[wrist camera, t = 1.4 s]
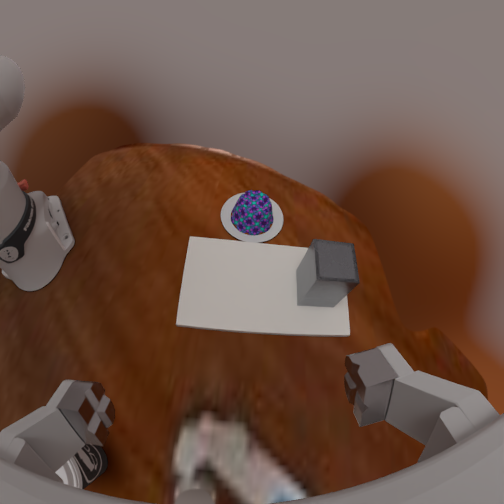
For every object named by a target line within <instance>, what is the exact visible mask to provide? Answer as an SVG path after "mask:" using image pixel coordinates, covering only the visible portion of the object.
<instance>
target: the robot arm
mask: <svg viewBox="0 0 504 504" xmlns="http://www.w3.org/2000/svg"><path fill="white" fill-rule="evenodd" d="M24 89H25V85H24V78H23V74H22V72H21V70H20V68H19V66H18V65H17V64H16V63H15V62H14V61H13V60H12V59H10V58H9V57H6V56H3V55H0V131H1V130H2V129H3V128H5V127H6V126H7V125H8V124H9V123H10V122H11V121H12V120H13V119H15V118H16V117H17V115H18V113H19V111H20V108H21V106H22V102H23V98H24ZM27 189H28V182H27V181H26V179H24V180H22V181H21V182H18V183H17V182H16V180H15V179H14V177H13V175H12V174H11V172H10V170H9V168H8V167H7V165H6V164H4V163H3V162H2V161H0V267H1V269H2V274H3V275H4V276H5V277H6V278H8V279H11V280H13V282H14V283H15V284H16V285H17V286H18V287H19V288H20V289H22V290H25V291H35V290H38V289H40V288H42V287H44V286H45V285H47V284H48V283H49V282H50V281H51V280H52V279H53V278H54V277H55V275H56V274H57V273H58V271H59V269H60V267H61V265H62V263H63V260H64V258H65V256H66V254H67V253H68V252H69V251H70V250H71V248H72V247H73V246H74V243H75V240H74V237H73V235H72V232H71V230H70V227H69V224H68V221H67V219H66V216H65V213H64V210H63V207H62V204H61V201H60V199H59V197H58V196H48V197H46V195H45V194H44V193H43V192H42V191H34V192H31V193H28V194H27V193H25V192H24V190H27ZM66 238H67V239H66ZM345 367H346V369H347V371H348V372H347V373H346V375H345V376H344V385H345V392H346V395H347V398H348V401H349V403H351V404H353V405H354V414H355V417H356V419H357V421H358V423H359V426H360V427H362V426H365V425H369V424H372V423H376V422H379V421H382V420H385V419H386V420H385V421H387V422H388V423H390V424H391V425H393V426H395V427H396V428H398V429H399V430H401V431H403V432H404V433H406V434H408V435H409V436H411V437H413V438H414V439H416V440H418V441H419V442H421V443H423V444H424V445H426V446H425V448H424V450H423V452H422V454H421V456H420V458H419V460H418V463H417V464H415V465H412V466H410V467H408V468H405V469H403V470H401V471H398V472H395V473H393V474H390V475H388V476H385V477H382V478H379V479H376V480H374V481H371V482H367V483H364V484H361V485H358V486H354V487H351V488H347V489H344V490H340V491H336V492H332V493H328V494H324V495H319V496H314V497H309V498H304V499H298V500H292V501H286V502H279V503H271V504H504V413H503V414H502V415H499V414H498V412H497V411H496V410H495V409H494V408H493V406H492V405H491V404H490V403H489V402H488V401H487V399H486V398H485V397H484V396H483V395H482V394H481V393H480V391H478V390H474V389H471V388H468V387H465V386H462V385H459V384H456V383H453V382H450V381H447V380H444V379H441V378H438V377H435V376H432V375H429V374H427V373H424V372H421V371H416V372H414V371H413V370H412V368H411V367H410V366H409V364H408V363H407V362H406V361H405V359H404V358H403V357H402V356H401V354H400V353H399V352H398V351H397V349H396V348H395V347H394V346H393V344H391V343H388V344H385V345H382V346H379V347H376V348H373V349H369V350H366V351H362V352H358V353H355V354H351V355H347V356H346V358H345ZM104 394H105V389H104V388H103V386H102V385H101V383H98V382H91V381H79V380H76V381H75V380H64V381H63V382H62V383H61V385H60V386H59V387H58V389H57V390H56V392H55V393H54V395H53V396H52V398H51V399H50V401H49V402H48V404H47V405H46V407H45V406H42V407H41V408H39V409H37V410H36V411H34V412H32V413H30V414H29V415H27V416H25V417H24V418H22V419H20V420H19V421H17V422H15V423H14V424H12V425H10V426H8V427H7V428H5V429H3V430H2V431H1V432H0V504H155V503H147V502H140V501H134V500H128V499H122V498H117V497H112V496H107V495H103V494H99V493H95V492H91V491H87V490H83V489H80V488H76V487H73V486H70V485H67V484H64V482H63V480H62V479H61V478H60V477H59V476H58V475H57V474H56V473H55V472H56V471H57V470H58V469H60V468H61V467H62V466H63V465H64V464H65V463H66V462H67V461H68V460H69V459H70V458H71V457H73V456H74V455H75V454H76V453H77V452H78V451H79V450H80V449H81V448H82V447H83V446H84V445H85V444H91V445H99V446H104V444H105V442H106V439H107V437H108V434H109V431H108V427H109V426H111V425H112V424H113V422H114V419H115V409H114V405H113V403H112V402H111V400H110V399H109V398H108V397H106V396H105V395H104Z"/></svg>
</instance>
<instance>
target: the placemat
mask: <svg viewBox="0 0 504 504" xmlns="http://www.w3.org/2000/svg"><path fill="white" fill-rule="evenodd" d="M307 250H308V248H302V247H293V246H283V245H273V244H263V243H253V242H243V241H233V240H223V239H212V238H202V237H191V236H190V239H189V244H188V250H187V256H186V261H185V267H184V273H183V279H182V286H181V292H180V299H179V306H178V313H177V320H176V326H180V327H189V328H198V329H207V330H218V331H229V332H241V333H255V334H272V335H293V336H335V337H348V336H349V335H350V326H349V313H348V302H347V295H346V296H345V297H344V298H343V299H342V300H341V301H340V302H339V303H338V304H337V305H336V306H334V307H315V306H297V278H296V270H297V268H298V266H299V265H300V263H301V261H302V259H303V257H304V256H305V254H306V252H307Z"/></svg>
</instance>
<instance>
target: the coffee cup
mask: <svg viewBox="0 0 504 504" xmlns="http://www.w3.org/2000/svg"><path fill="white" fill-rule="evenodd" d="M107 465H108V461H107V456H106V454H105V452H104V450H103V449H102V448H101V447H100V446H99V445H91V444H85V445H84V446H83V447H82V448H81V449H80V450H79V451H78V452H77V453H76V454H75V455H74V456H73V457H71V458H70V459H69V460H68V461H67V462H66V463H65V464H64V465H63V466H62V467H61V468H60V469H58V470H57V471H56V472H55V473H56V474H57V475H58V476H59V477H60V478H61V479H62V480H63V482H64V484H67V485H70V486H73V487H76V488H80V489H84V488H85V487H87V486H88V485H89V484H90V483H92V482H93V481H94V480H95V479H96V478H98V477H99V476H100V475H101V474H102V473H104V472H105V470H106V468H107Z"/></svg>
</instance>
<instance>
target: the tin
mask: <svg viewBox="0 0 504 504" xmlns="http://www.w3.org/2000/svg"><path fill="white" fill-rule="evenodd" d="M296 278H297V306H315V307H334V306H336V305H337V304H338V303H339V302H340V301H341V300H342V299H343V298H344V297H345V296H346V295H347V294H348V293H349V292H350V291H351V290H353V289H354V288H355V287H356V286H357V285H358V284H359V277H358V269H357V262H356V256H355V249H354V244H351V243H343V242H335V241H326V240H317V239H313V241H312V243H311V245H310V247H309V248H308V250H307V252H306V254H305V256H304V257H303V259H302V261H301V263H300V265H299V266H298V268H297V270H296Z"/></svg>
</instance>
